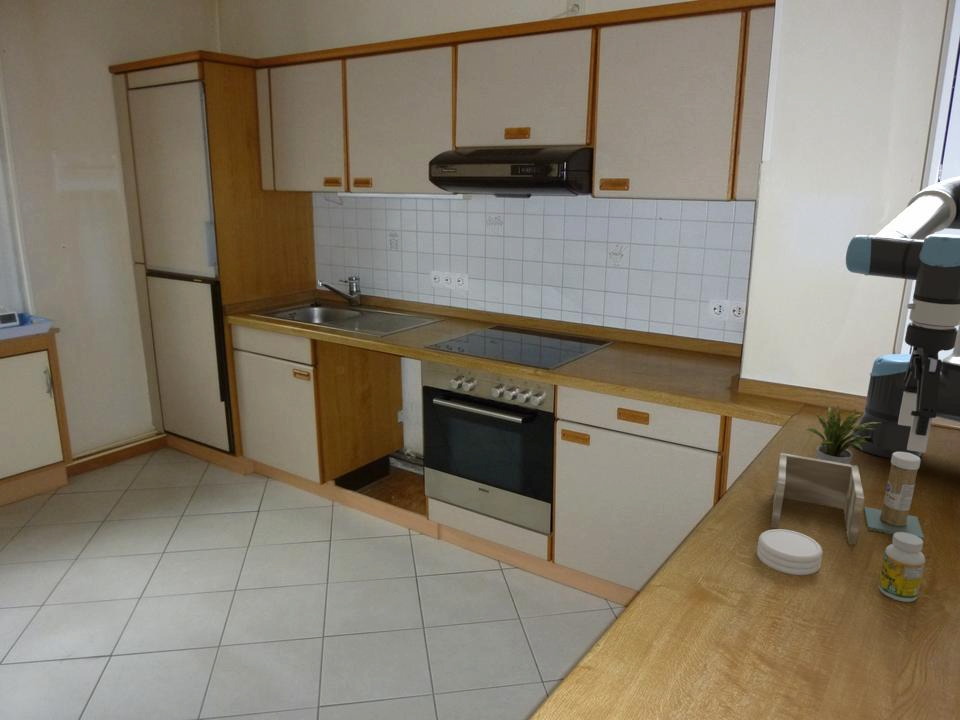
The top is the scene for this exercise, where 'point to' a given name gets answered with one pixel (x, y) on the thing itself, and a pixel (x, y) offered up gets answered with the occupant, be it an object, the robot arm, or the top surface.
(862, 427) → the house plant
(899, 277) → the robot arm
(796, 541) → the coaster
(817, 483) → the birch box
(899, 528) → the felt mat
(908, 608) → the top surface
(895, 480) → the sprinkles bottle
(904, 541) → the supplement bottle
